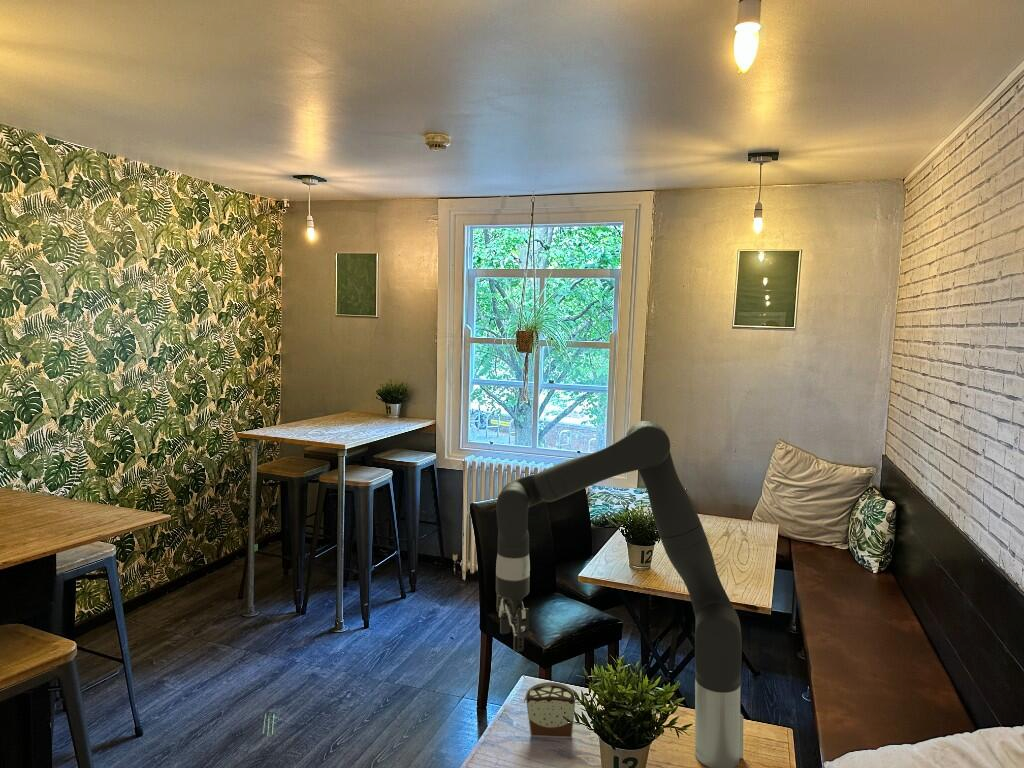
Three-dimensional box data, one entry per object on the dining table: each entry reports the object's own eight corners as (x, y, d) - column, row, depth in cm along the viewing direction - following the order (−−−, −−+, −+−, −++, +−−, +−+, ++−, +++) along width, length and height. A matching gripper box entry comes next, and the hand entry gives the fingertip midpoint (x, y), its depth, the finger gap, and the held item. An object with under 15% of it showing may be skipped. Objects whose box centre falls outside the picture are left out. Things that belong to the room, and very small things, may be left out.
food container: (578, 721, 155) (577, 681, 154) (578, 738, 149) (577, 696, 148) (526, 719, 156) (525, 680, 155) (524, 736, 150) (523, 694, 149)
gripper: (541, 582, 140) (539, 654, 142) (516, 559, 154) (515, 625, 155) (508, 587, 138) (507, 660, 139) (486, 563, 151) (485, 630, 153)
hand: (511, 641), depth 147 cm, fingers open, 8 cm apart
